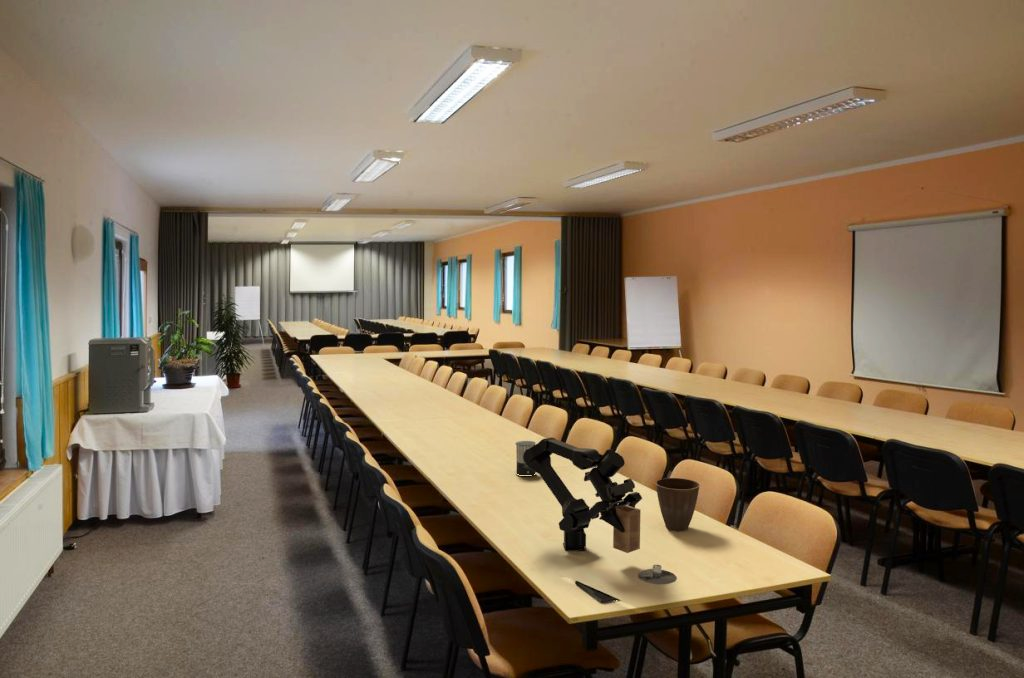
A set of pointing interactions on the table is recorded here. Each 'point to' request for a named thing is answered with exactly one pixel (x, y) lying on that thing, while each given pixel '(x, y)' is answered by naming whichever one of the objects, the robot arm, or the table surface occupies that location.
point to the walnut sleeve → (627, 529)
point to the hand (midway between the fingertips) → (630, 529)
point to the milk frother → (520, 449)
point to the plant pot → (677, 501)
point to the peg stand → (657, 575)
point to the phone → (596, 593)
